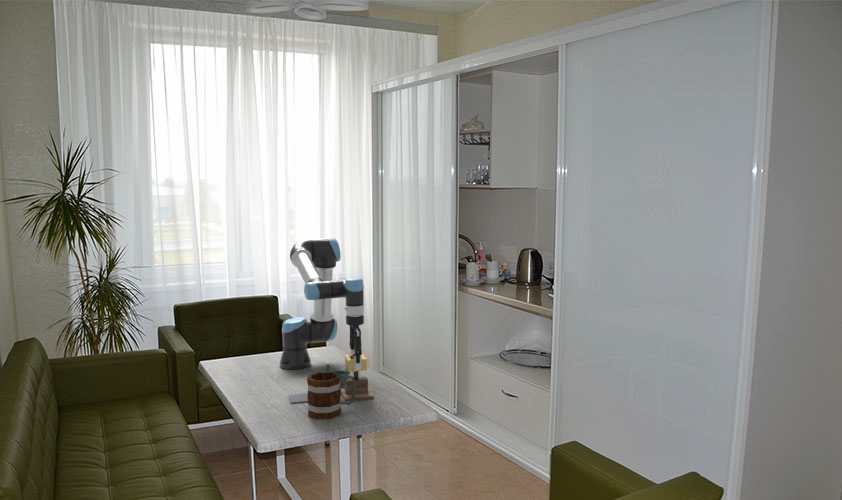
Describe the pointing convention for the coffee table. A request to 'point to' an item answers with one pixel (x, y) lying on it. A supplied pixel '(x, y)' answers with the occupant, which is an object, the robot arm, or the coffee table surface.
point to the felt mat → (298, 398)
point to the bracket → (342, 373)
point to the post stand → (357, 388)
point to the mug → (326, 394)
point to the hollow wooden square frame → (350, 363)
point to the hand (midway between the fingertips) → (355, 367)
